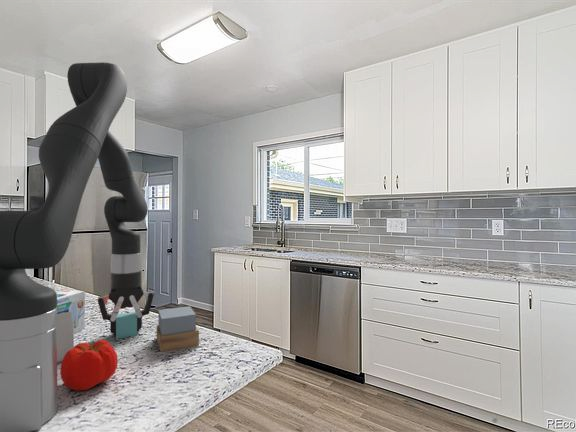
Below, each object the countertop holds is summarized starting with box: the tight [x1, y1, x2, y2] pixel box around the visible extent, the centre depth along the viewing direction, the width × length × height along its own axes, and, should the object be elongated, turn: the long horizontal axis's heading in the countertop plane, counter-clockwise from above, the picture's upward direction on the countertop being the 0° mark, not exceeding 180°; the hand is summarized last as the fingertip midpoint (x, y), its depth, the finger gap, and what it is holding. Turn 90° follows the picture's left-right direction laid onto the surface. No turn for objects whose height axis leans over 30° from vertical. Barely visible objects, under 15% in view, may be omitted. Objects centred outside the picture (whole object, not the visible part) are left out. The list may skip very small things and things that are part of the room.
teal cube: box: [115, 311, 138, 339], centre depth 91 cm, size 5×5×5 cm
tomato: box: [59, 339, 119, 391], centre depth 65 cm, size 9×9×8 cm
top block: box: [158, 305, 197, 335], centre depth 85 cm, size 8×8×4 cm
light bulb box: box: [56, 289, 86, 334], centre depth 91 cm, size 11×7×11 cm, turn 168°
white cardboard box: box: [57, 312, 75, 363], centre depth 75 cm, size 4×7×10 cm, turn 137°
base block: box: [156, 324, 200, 353], centre depth 85 cm, size 9×9×4 cm
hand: (126, 332), depth 91 cm, fingers closed on teal cube, 5 cm apart
